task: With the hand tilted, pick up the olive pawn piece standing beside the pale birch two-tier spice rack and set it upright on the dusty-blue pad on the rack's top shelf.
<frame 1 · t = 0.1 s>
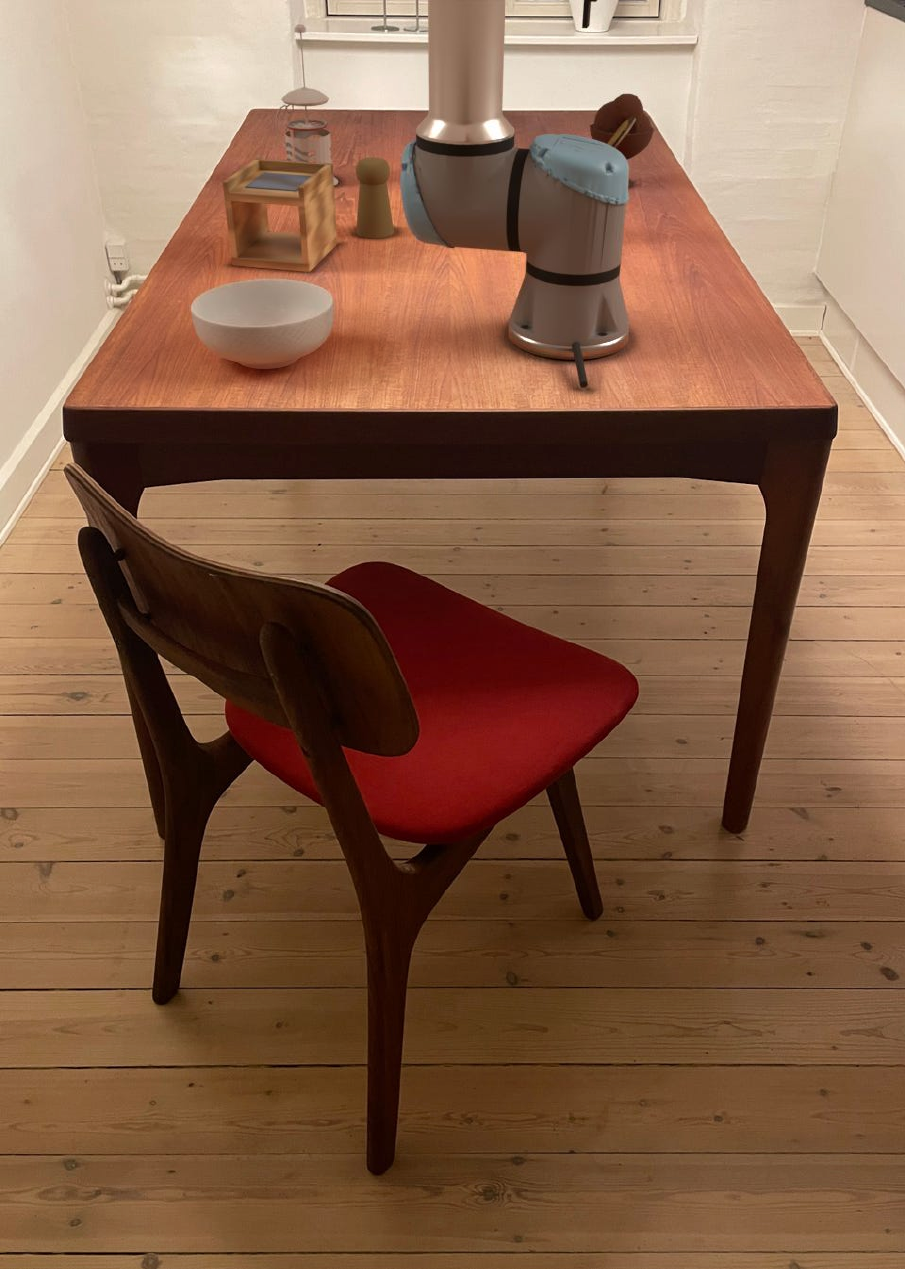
hand: (540, 25, 166), 28 cm above the table, tool pointing down, fingers open, 13 cm apart
spice rack: (285, 254, 168), on the table
wooden mug: (580, 239, 174), on the table
cereal bowl: (268, 357, 137), on the table
french press: (307, 182, 199), on the table
olive pawn piece: (375, 233, 176), on the table
ice cream bowl: (616, 185, 199), on the table
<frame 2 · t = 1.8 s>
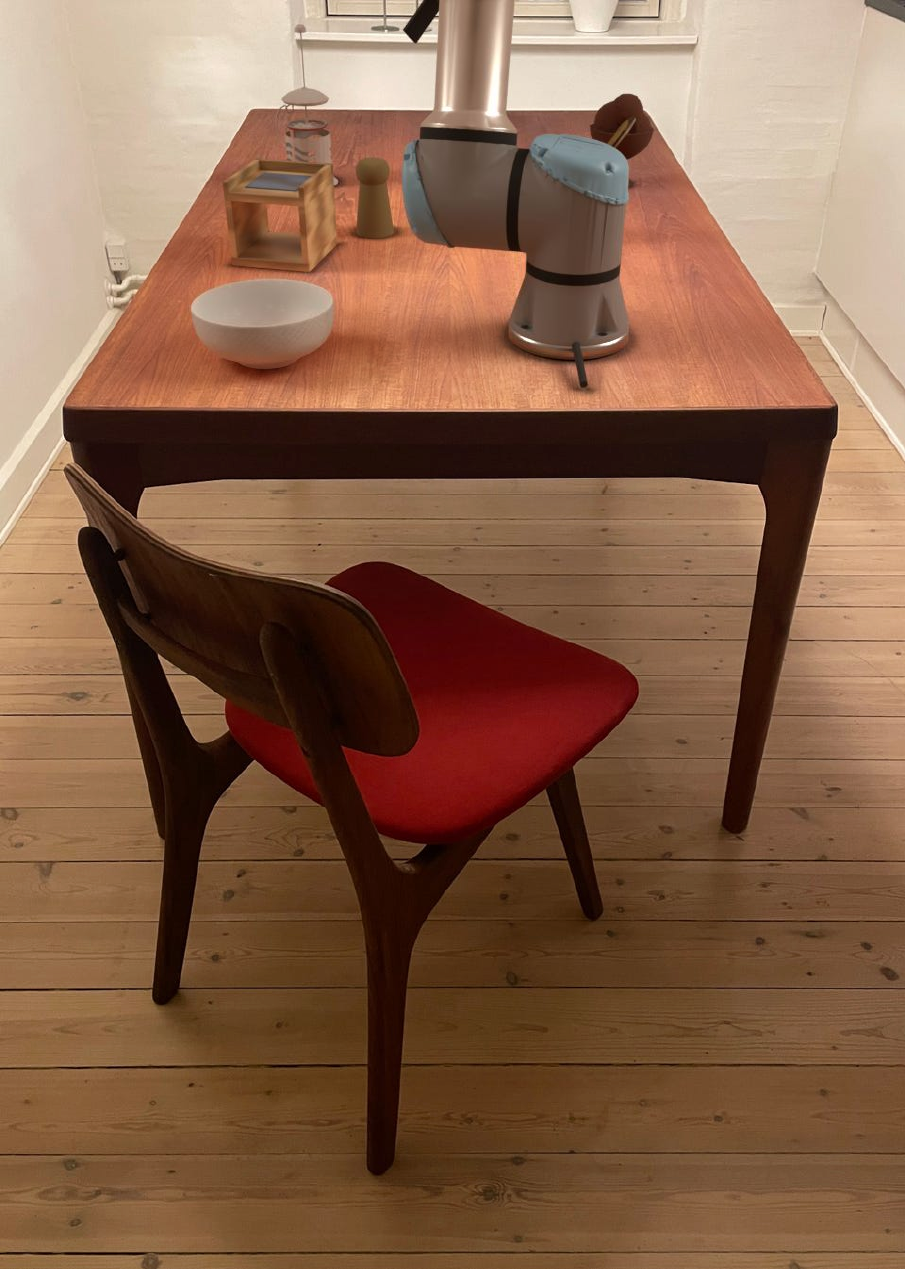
hand: (432, 44, 165), 26 cm above the table, tool tilted 45°, fingers open, 13 cm apart
nothing on the table moved.
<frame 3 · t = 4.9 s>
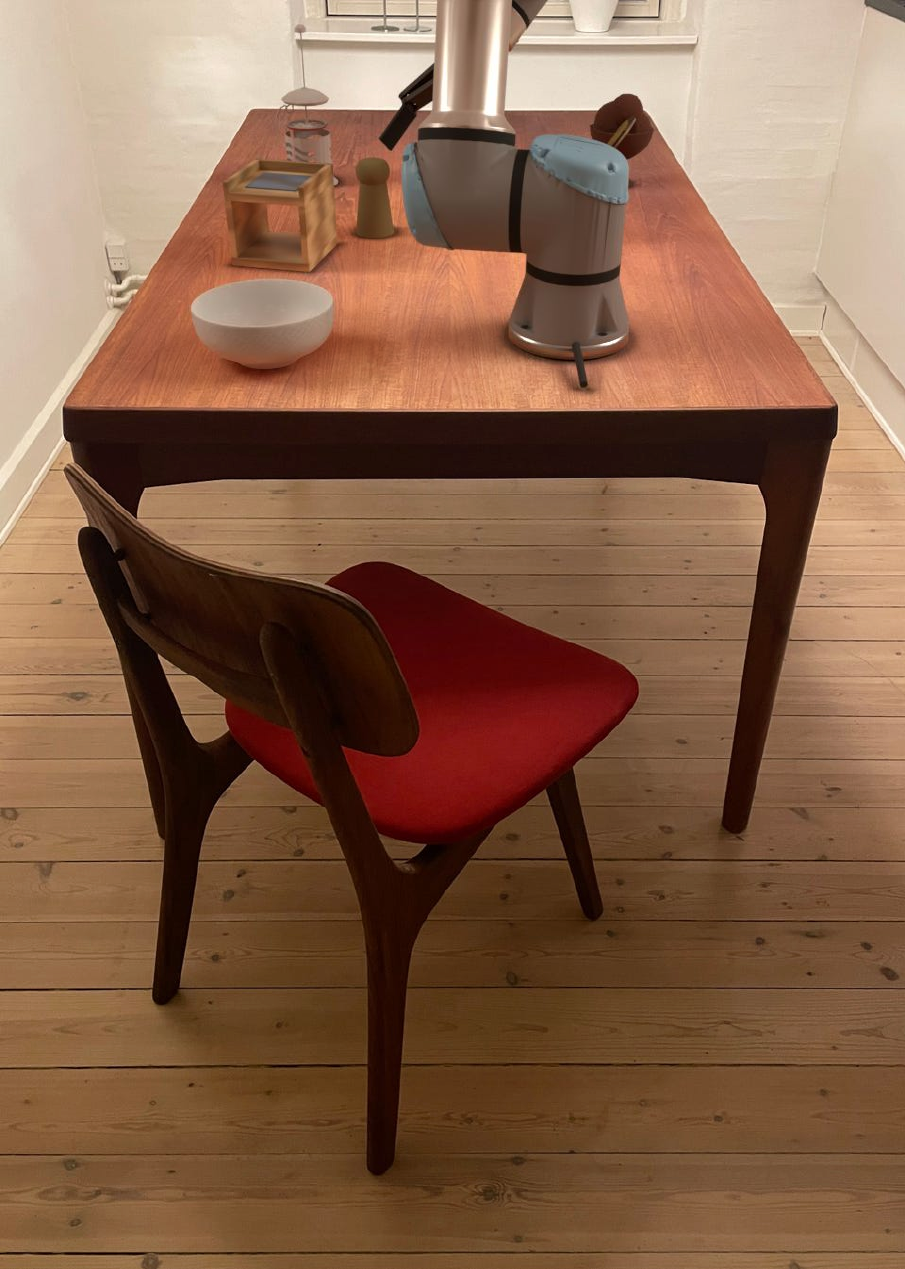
hand: (405, 154, 172), 11 cm above the table, tool tilted 45°, fingers open, 13 cm apart
nothing on the table moved.
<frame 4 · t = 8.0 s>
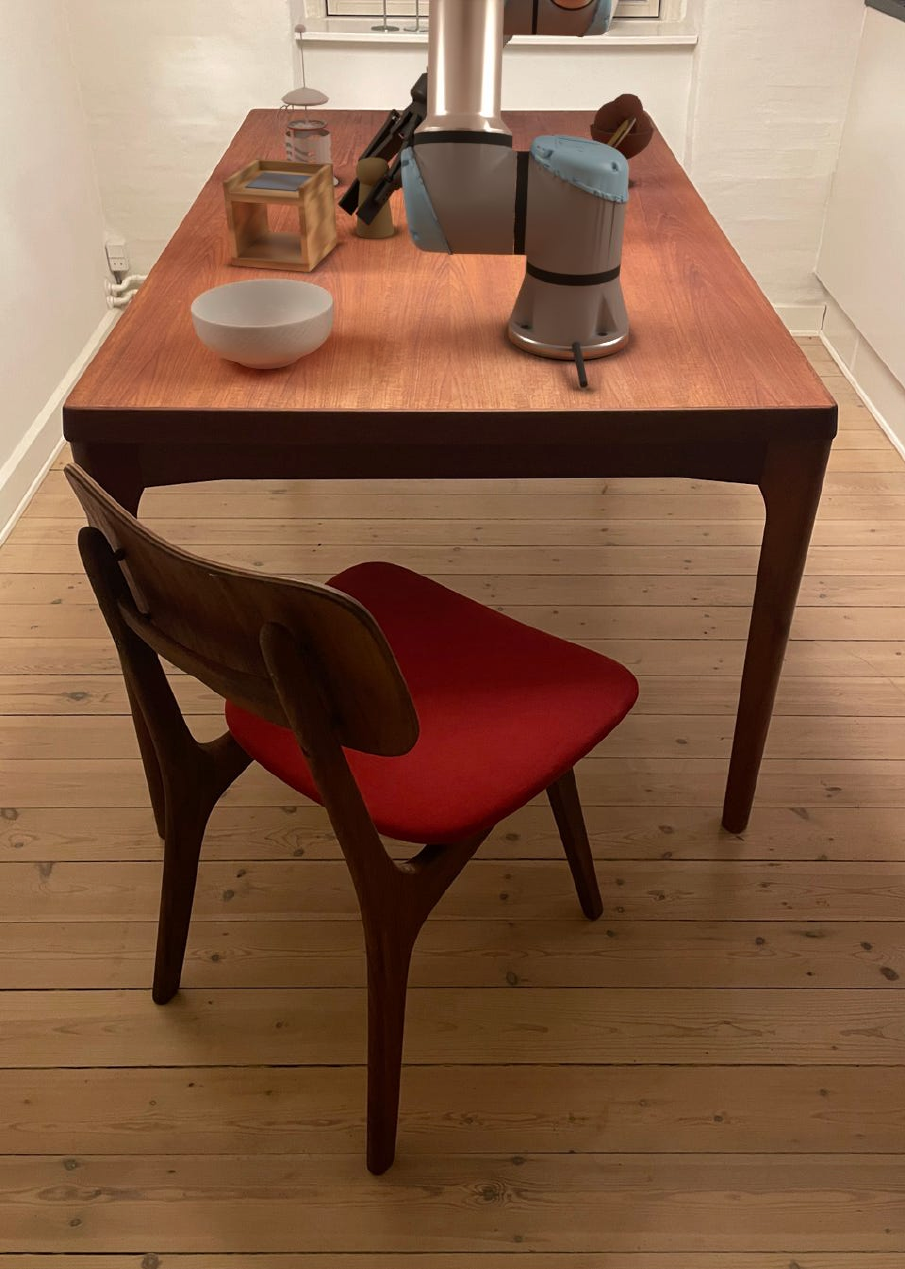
hand: (353, 214, 173), 3 cm above the table, tool tilted 45°, fingers closed on olive pawn piece, 5 cm apart
olive pawn piece: (375, 233, 176), on the table, touching gripper
everything else where it was.
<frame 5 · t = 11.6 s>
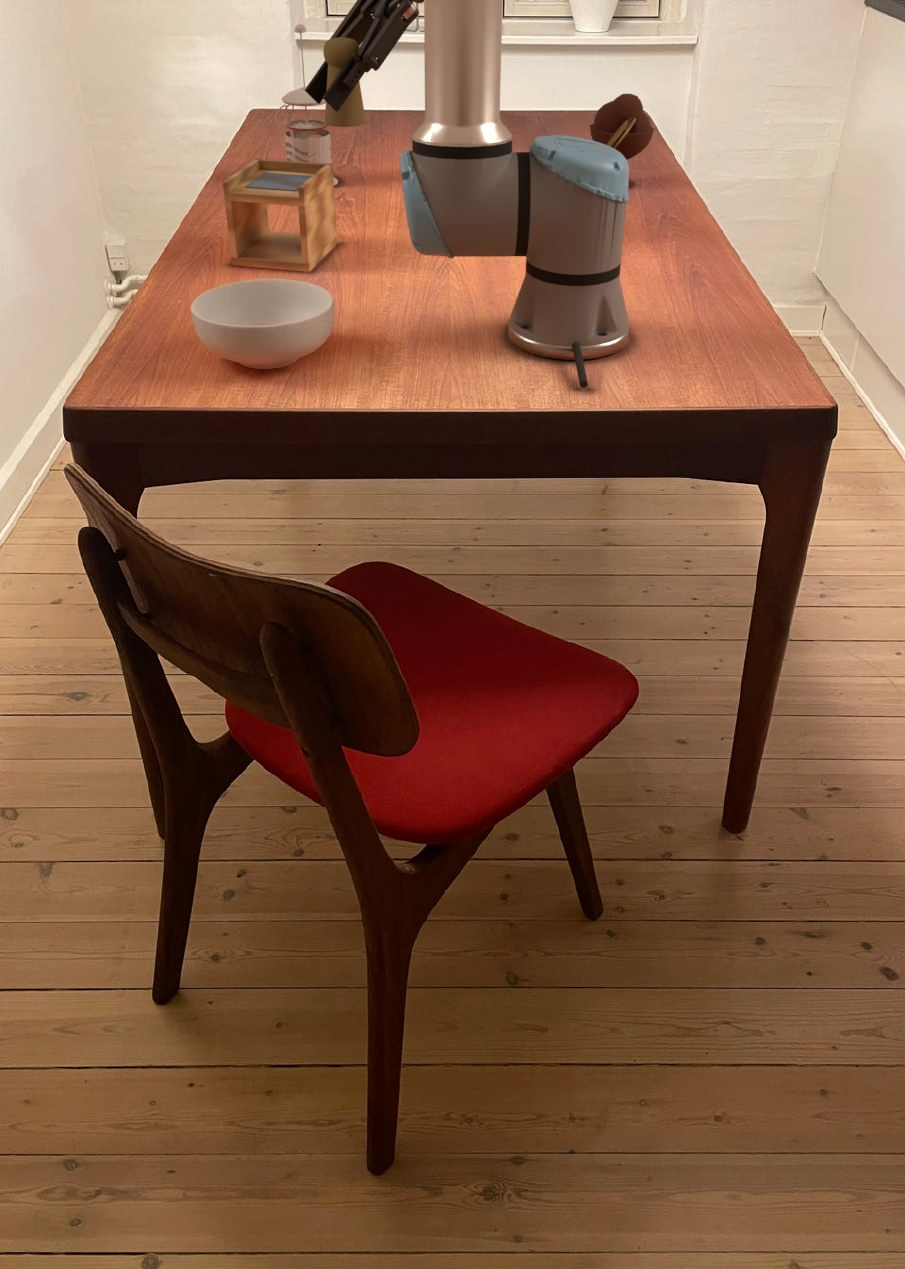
hand: (320, 100, 160), 20 cm above the table, tool tilted 45°, fingers closed on olive pawn piece, 5 cm apart
olive pawn piece: (345, 123, 164), point 17 cm above the table, touching gripper
everything else where it was.
when the fingers open (14 cm above the table, at t = 15.6 s): olive pawn piece stays where it is, resting on spice rack.
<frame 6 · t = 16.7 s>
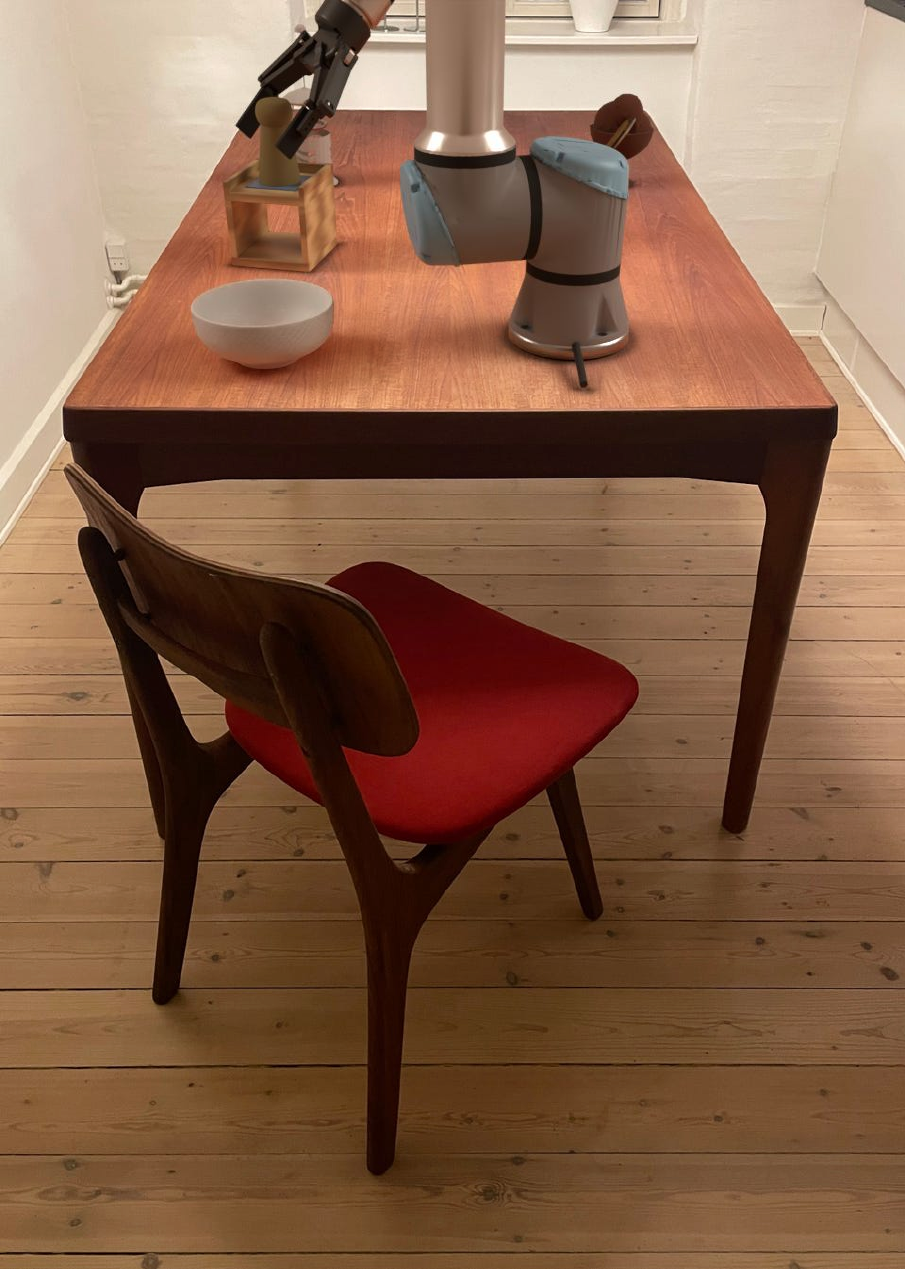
hand: (261, 142, 157), 16 cm above the table, tool tilted 45°, fingers open, 13 cm apart
olive pawn piece: (280, 182, 161), point 10 cm above the table, touching spice rack
everything else where it was.
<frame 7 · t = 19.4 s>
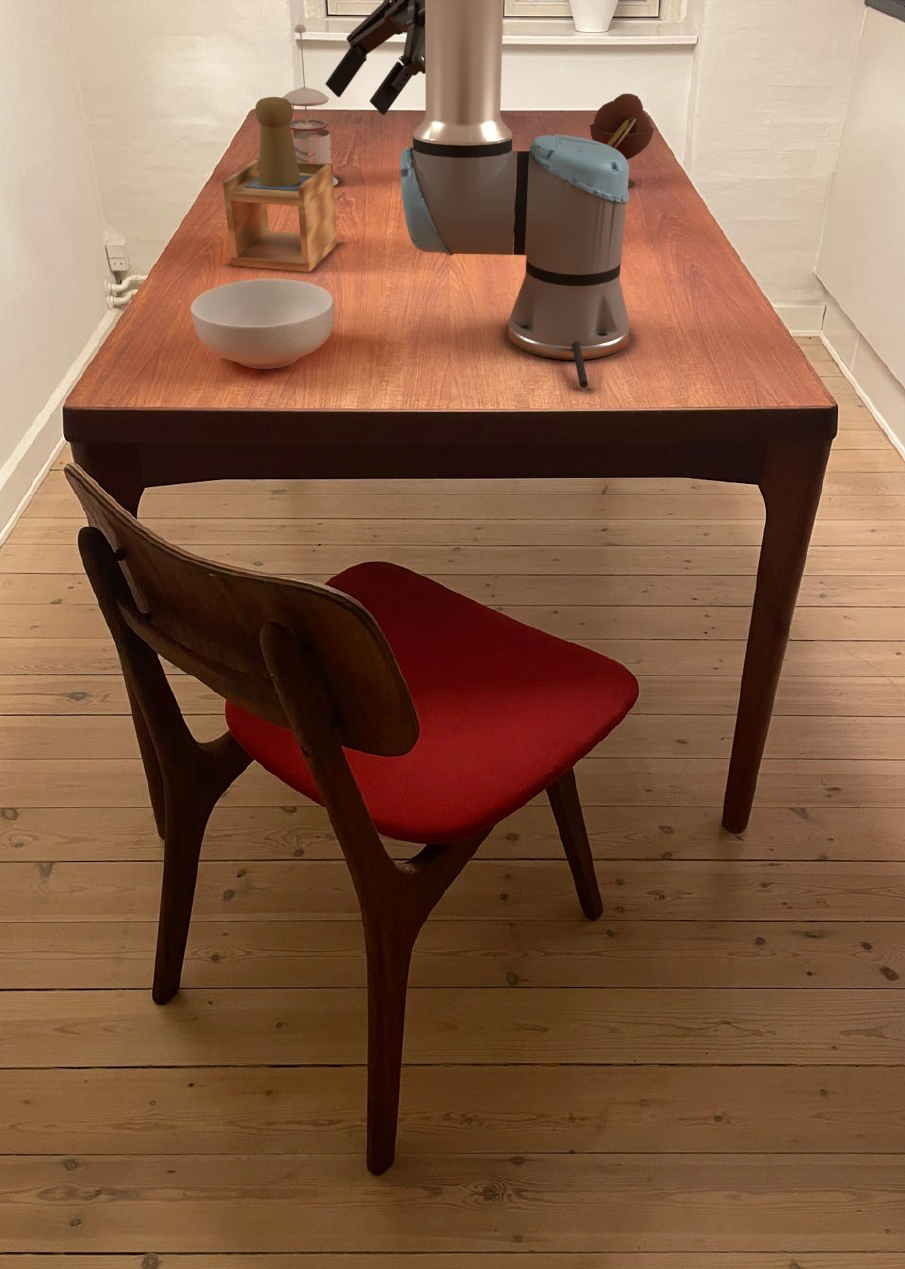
hand: (353, 99, 160), 20 cm above the table, tool tilted 45°, fingers open, 13 cm apart
nothing on the table moved.
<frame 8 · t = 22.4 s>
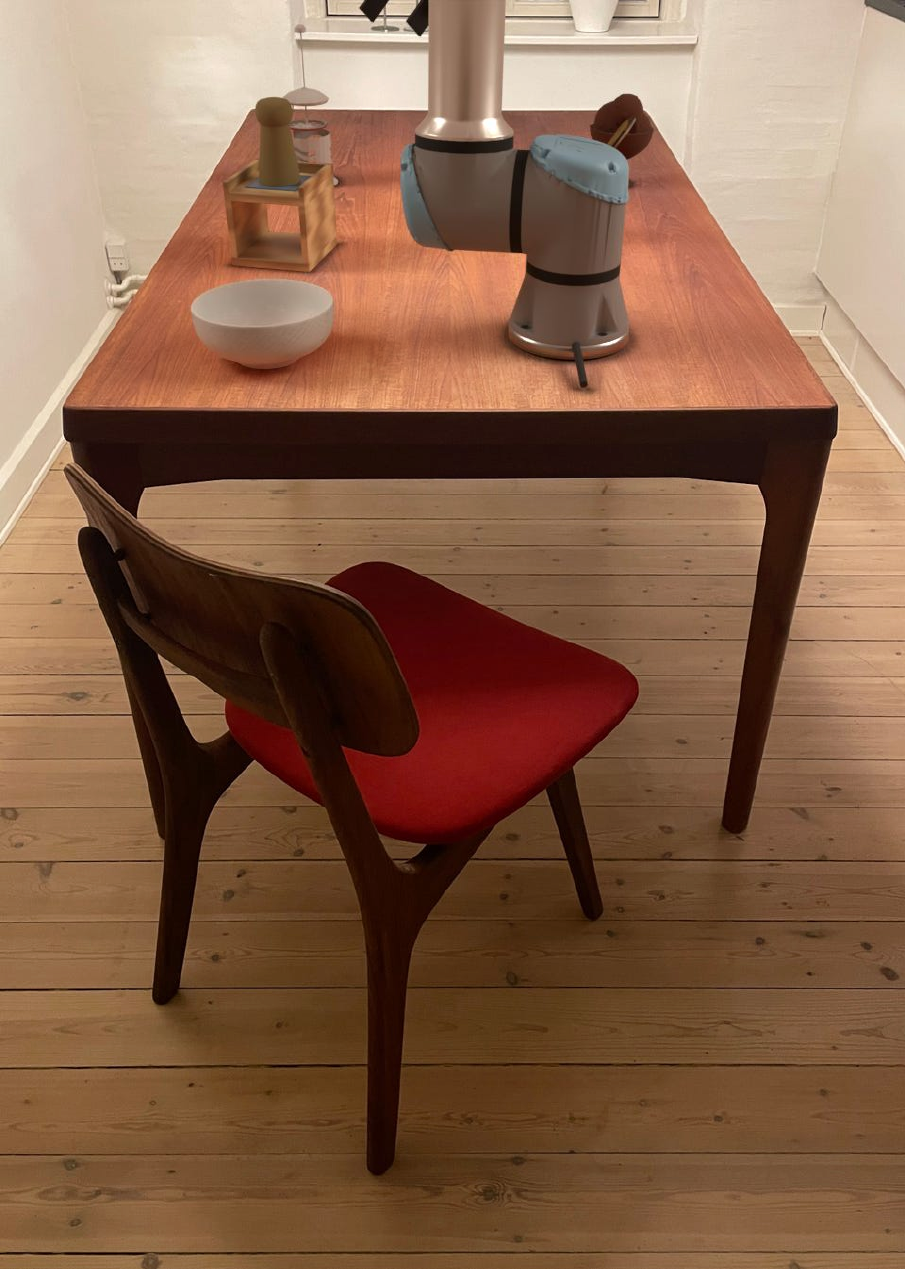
hand: (388, 22, 157), 30 cm above the table, tool tilted 45°, fingers open, 13 cm apart
nothing on the table moved.
at the end: olive pawn piece inside the target area on the spice rack (0.0 cm from its centre), point 10.4 cm above the spice rack's base; olive pawn piece tilted 0°; the gripper is holding nothing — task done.
